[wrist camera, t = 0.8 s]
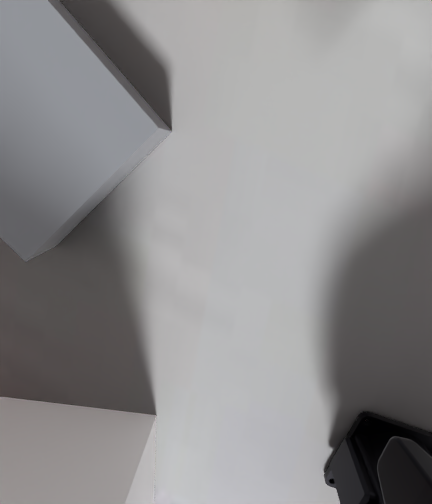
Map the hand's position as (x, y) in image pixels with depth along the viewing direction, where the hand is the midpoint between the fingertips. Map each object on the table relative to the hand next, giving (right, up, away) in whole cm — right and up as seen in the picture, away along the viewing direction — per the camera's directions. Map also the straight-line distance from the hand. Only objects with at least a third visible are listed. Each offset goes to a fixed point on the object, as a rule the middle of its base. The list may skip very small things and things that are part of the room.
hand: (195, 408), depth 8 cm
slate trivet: (-9, +11, +11) cm, 18 cm away
